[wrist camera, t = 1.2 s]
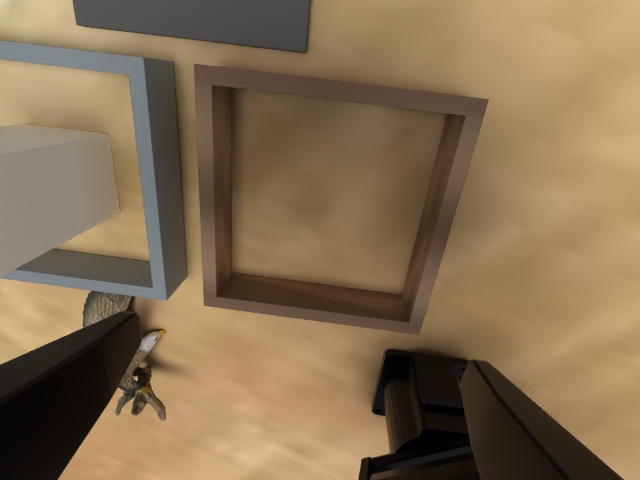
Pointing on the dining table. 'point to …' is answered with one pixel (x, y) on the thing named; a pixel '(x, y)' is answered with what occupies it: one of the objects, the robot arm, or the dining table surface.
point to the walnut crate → (316, 298)
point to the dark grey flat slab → (205, 20)
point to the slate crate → (155, 173)
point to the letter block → (51, 189)
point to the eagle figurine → (110, 304)
